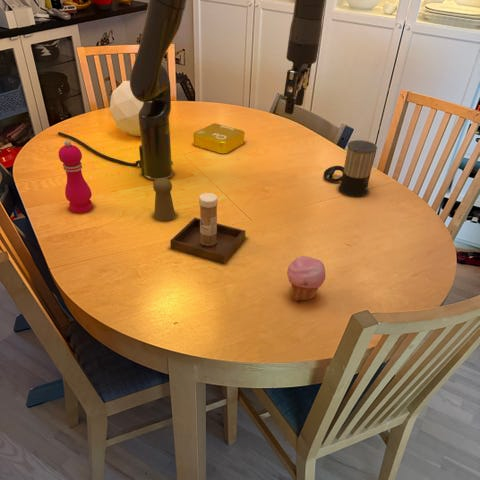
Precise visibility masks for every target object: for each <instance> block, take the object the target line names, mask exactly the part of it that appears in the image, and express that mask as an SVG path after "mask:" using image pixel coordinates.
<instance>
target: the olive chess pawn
mask: <svg viewBox="0 0 480 480" xmlns="http://www.w3.org/2000/svg"><path fill="white" fill-rule="evenodd" d="M152 188H153V191H154V192H155V194H154V195H155V196H154V213H153V214H154V215H153V216H154V219H155V220H157V221H159V222H169V221H172V220H174V219H175V218H176V213H175V212H176V211H175V208H174V202H173V197H172V193H171V192H172V190H173V189H172V188H173V185H172V181H171V180H170V179H169V178H168V179H165V178H159V179H157V180H153V184H152Z"/></svg>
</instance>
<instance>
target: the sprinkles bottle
mask: <svg viewBox="0 0 480 480" xmlns="http://www.w3.org/2000/svg"><path fill="white" fill-rule="evenodd" d="M198 198H199V199H198V204H199V213H200V215H199V219H200V232H201V239H200V242H201V244H202V245H204V246H213V245H215V244H216V243H217V240H216V233H217V223H218V213H217V212H218V209H217V208H218V196H217V195H216V194H214V193H211V192H205V193H202V194H200V195H199V197H198Z"/></svg>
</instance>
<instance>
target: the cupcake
mask: <svg viewBox="0 0 480 480" xmlns="http://www.w3.org/2000/svg"><path fill="white" fill-rule="evenodd" d="M286 275H287V278H288V282H289V283H290V285H291V290H292V291H291V293H292V295H291V296H292V298H293V300H295V301H299V302H300V301H308V300H309V301H310V300H311V299H313V298H314V297H315V295H316V294H317V292H318V289H319V288H320V287H321V286H322V285H323V284H324V282H325V280H326V268H325V265H324V263H323V262H322V261H321V260H320V259H317V258H314V257H312V256H307V255H306V256H305V255H301V256H299V257H296V258H295V259H294V260H292V261H291V262H290V263H289V264H288V267H287V271H286Z"/></svg>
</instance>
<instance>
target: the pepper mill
mask: <svg viewBox="0 0 480 480" xmlns="http://www.w3.org/2000/svg"><path fill="white" fill-rule="evenodd" d="M63 144H64V145H63V146H61V147H60V148H59V150H58V159H59V161H60V162H61V163H62V167H63V170H64V172H65V174H66V183H65V189H64V194H65V198H66V201H68V205H69V209H70V211H71V212H72V213H75V214H76V213H77V214H83V213H87V212H89V211H91V210H92V209H93V203H92V200H91V198H92V195H93V194H92V191H91V188H90V186H89V185H88V183H87V181H86V180H85V178H84V175H83V172H82V169H83V165H82V164H83V163H82V162H81V161H82V159H83V154H82V151H81V149H80V148H79V147H78V146H76V145H74V144H72V141H71V139H65V140H64V142H63Z"/></svg>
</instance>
